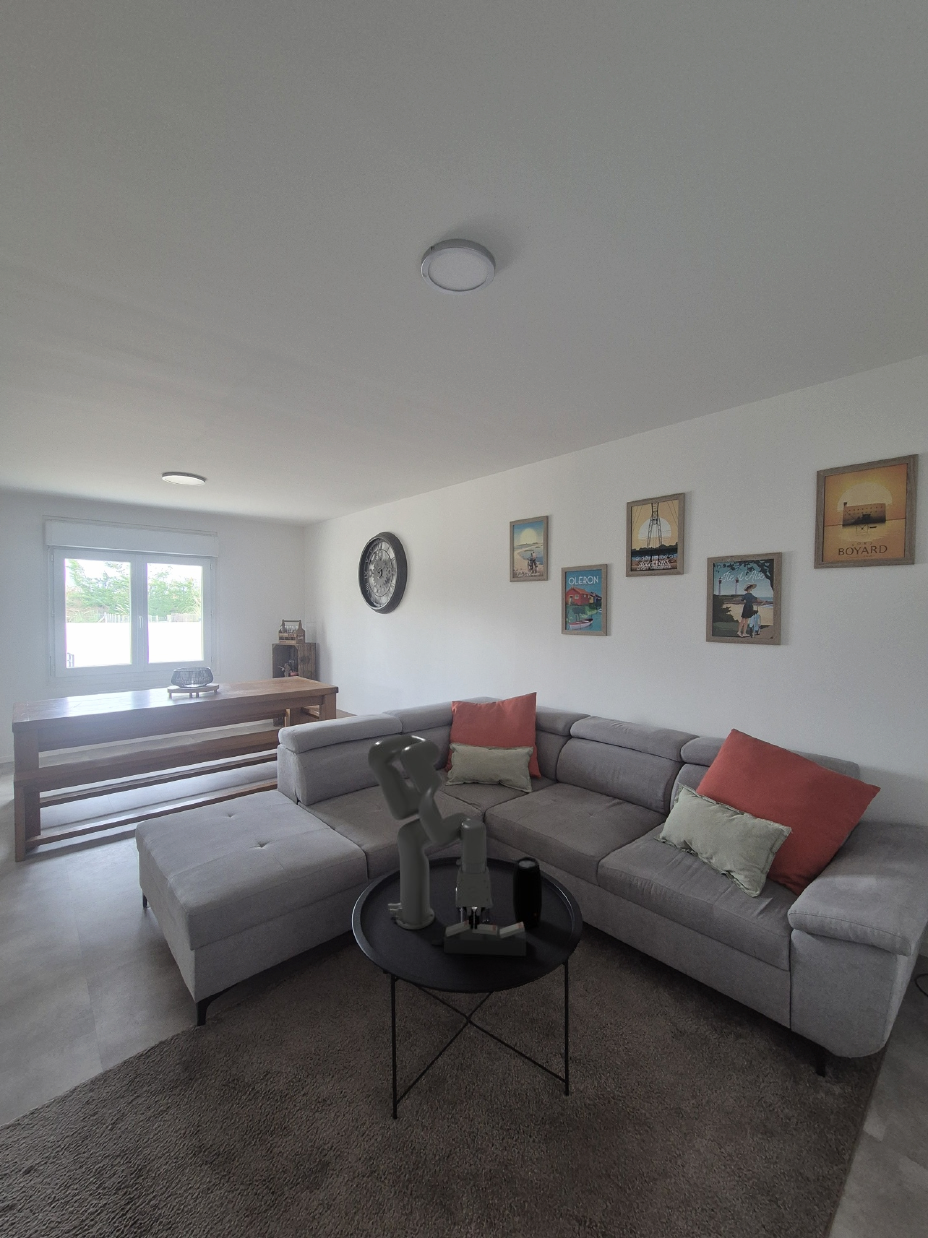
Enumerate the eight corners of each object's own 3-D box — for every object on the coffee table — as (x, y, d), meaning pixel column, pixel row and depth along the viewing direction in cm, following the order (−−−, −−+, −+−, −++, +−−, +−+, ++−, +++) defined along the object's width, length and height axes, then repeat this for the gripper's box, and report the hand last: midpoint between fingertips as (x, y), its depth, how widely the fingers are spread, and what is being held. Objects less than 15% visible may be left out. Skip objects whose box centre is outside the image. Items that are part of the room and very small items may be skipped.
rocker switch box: (430, 952, 148) (430, 934, 148) (433, 937, 155) (433, 920, 155) (526, 956, 146) (525, 938, 146) (524, 940, 153) (524, 923, 153)
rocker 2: (472, 932, 147) (472, 928, 147) (472, 927, 150) (473, 923, 150) (496, 935, 147) (497, 931, 147) (496, 929, 149) (497, 925, 149)
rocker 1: (447, 936, 148) (445, 932, 148) (448, 931, 150) (446, 927, 151) (469, 928, 147) (468, 924, 147) (470, 923, 150) (468, 919, 150)
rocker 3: (501, 938, 147) (499, 934, 147) (501, 933, 149) (499, 929, 149) (524, 931, 146) (522, 926, 146) (523, 925, 149) (522, 921, 149)
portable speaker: (544, 929, 158) (544, 867, 158) (515, 931, 157) (514, 869, 157) (538, 914, 167) (538, 855, 167) (510, 915, 166) (510, 856, 166)
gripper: (447, 870, 145) (447, 933, 145) (499, 871, 144) (499, 935, 144) (449, 858, 153) (450, 918, 153) (499, 859, 152) (499, 920, 152)
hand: (474, 926), depth 148 cm, fingers closed
